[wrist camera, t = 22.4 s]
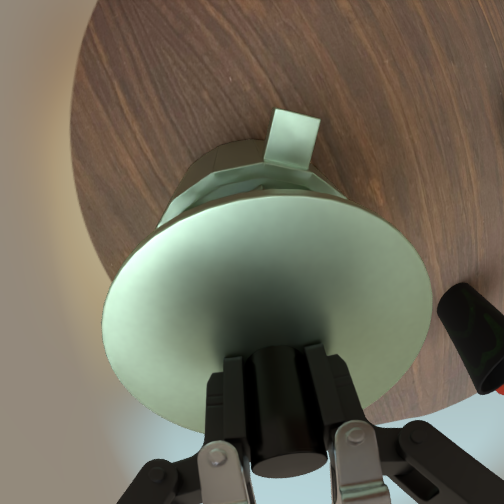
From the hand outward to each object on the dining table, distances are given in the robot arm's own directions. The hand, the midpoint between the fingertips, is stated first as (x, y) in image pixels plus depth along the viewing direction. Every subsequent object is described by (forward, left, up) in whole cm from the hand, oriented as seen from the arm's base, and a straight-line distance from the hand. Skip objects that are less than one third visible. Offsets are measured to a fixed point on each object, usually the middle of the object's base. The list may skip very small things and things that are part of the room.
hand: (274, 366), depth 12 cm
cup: (+26, -6, -15) cm, 31 cm away
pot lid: (0, 0, -1) cm, 1 cm away
